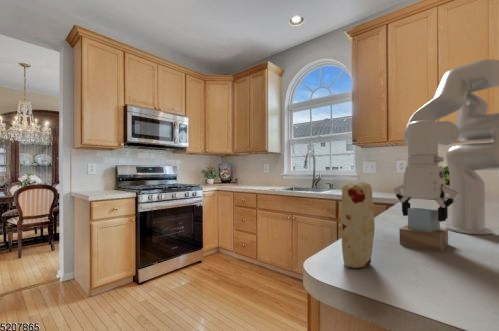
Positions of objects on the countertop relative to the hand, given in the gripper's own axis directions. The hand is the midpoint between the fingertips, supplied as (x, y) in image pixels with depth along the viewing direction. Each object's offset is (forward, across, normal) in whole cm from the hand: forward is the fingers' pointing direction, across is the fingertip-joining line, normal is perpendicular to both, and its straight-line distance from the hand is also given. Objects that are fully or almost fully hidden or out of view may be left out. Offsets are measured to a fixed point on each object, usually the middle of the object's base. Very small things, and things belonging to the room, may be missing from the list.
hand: (423, 218), depth 75 cm
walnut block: (+8, 0, 0) cm, 8 cm away
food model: (+8, 0, +31) cm, 32 cm away
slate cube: (+3, 0, 0) cm, 3 cm away
